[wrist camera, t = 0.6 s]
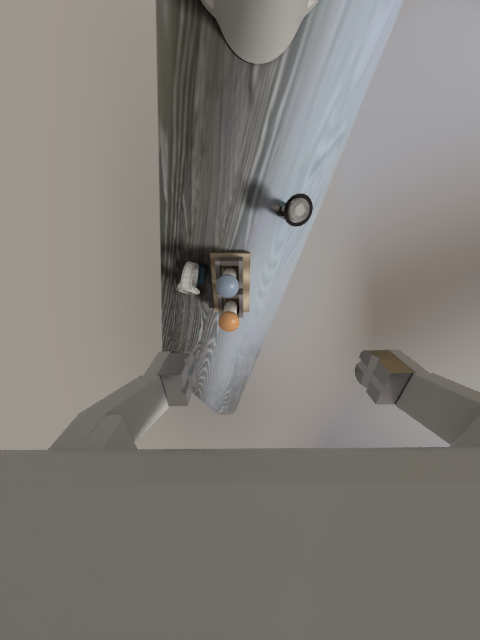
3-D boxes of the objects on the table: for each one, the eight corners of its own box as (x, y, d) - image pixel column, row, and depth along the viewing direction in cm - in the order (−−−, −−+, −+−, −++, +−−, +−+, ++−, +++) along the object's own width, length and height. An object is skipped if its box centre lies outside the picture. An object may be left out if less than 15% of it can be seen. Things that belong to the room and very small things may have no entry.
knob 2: (221, 297, 46) (218, 313, 38) (239, 297, 46) (239, 313, 38) (222, 312, 48) (219, 331, 40) (239, 312, 48) (239, 331, 40)
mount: (210, 252, 47) (206, 257, 40) (249, 252, 47) (251, 257, 40) (215, 308, 54) (212, 320, 48) (248, 308, 54) (250, 320, 48)
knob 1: (219, 265, 42) (215, 275, 34) (238, 264, 42) (238, 275, 34) (220, 283, 44) (216, 297, 36) (239, 283, 44) (238, 297, 36)
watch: (184, 282, 51) (171, 297, 41) (187, 253, 47) (174, 262, 37) (204, 287, 51) (196, 303, 42) (209, 258, 47) (201, 269, 38)
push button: (267, 218, 43) (274, 217, 34) (276, 192, 40) (286, 184, 32) (292, 228, 44) (305, 230, 35) (303, 203, 42) (320, 199, 33)
